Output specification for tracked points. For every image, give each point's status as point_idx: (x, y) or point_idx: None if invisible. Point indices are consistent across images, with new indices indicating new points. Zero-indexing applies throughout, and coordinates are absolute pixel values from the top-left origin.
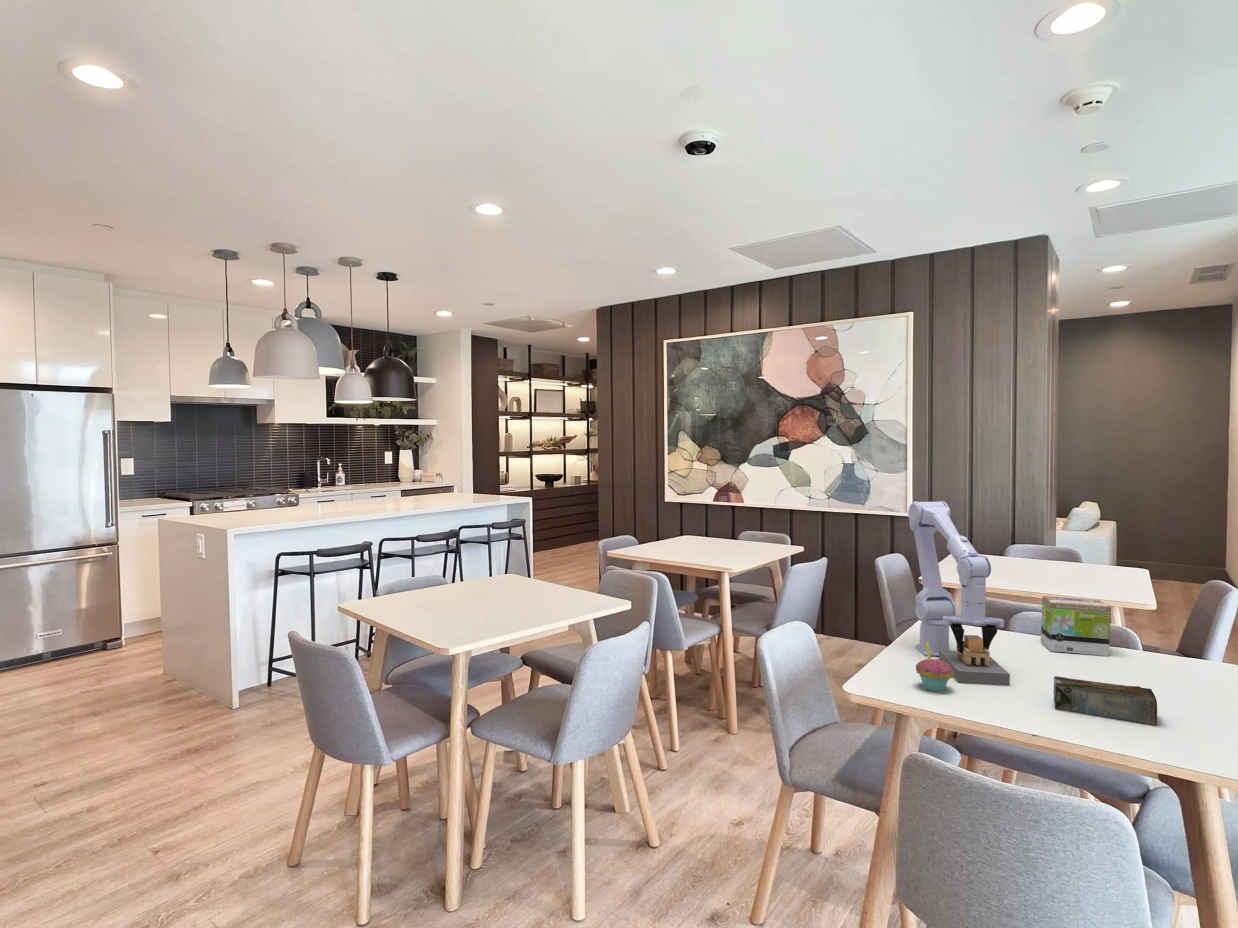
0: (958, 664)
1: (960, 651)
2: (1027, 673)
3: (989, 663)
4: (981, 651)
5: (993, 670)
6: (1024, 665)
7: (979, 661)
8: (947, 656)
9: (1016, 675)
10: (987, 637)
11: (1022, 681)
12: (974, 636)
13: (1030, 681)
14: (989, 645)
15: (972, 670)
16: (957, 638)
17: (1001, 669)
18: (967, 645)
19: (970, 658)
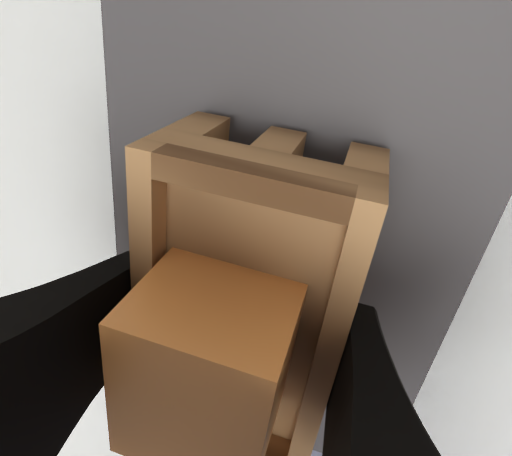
0: (440, 199)
1: (376, 313)
2: (7, 184)
3: (189, 116)
4: (214, 163)
5: (202, 16)
6: (3, 286)
7: (269, 136)
8: (403, 375)
9: (62, 155)
10: (26, 327)
11: (53, 43)
12: (159, 435)
13: (12, 45)
14: (78, 272)
15: (414, 5)
16: (427, 444)
17: (128, 52)
18: (292, 342)
19: (352, 163)
